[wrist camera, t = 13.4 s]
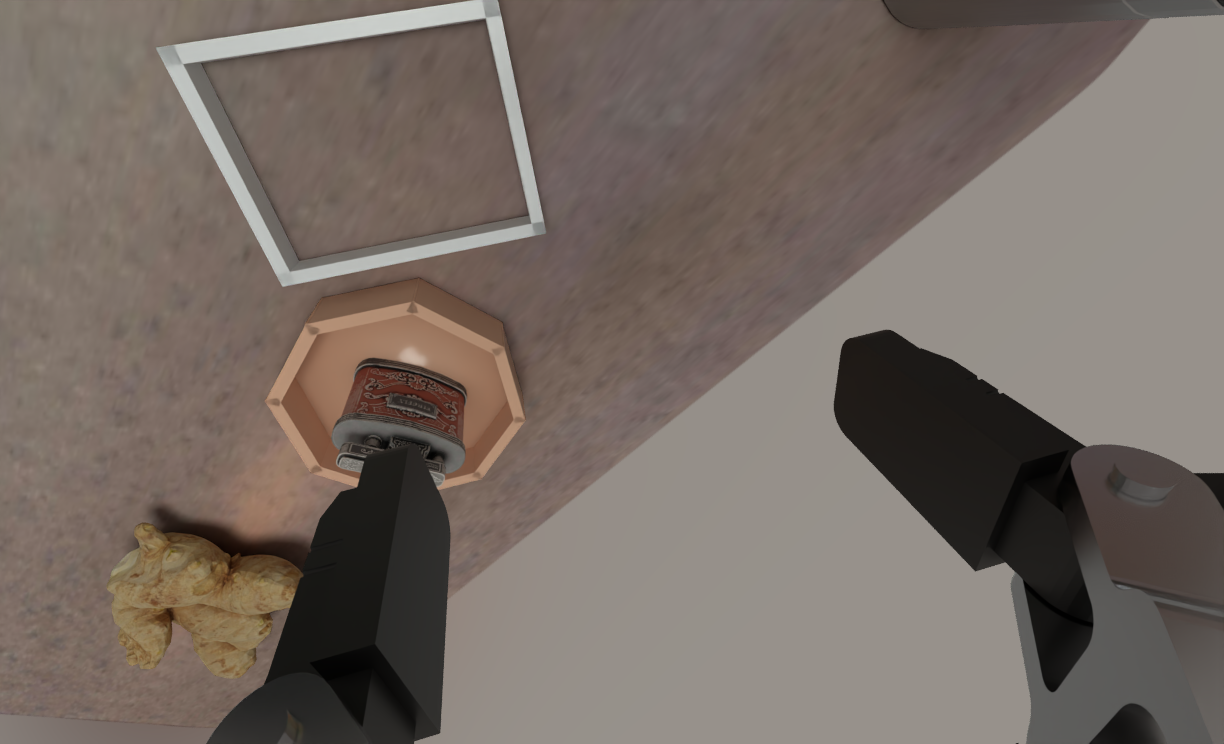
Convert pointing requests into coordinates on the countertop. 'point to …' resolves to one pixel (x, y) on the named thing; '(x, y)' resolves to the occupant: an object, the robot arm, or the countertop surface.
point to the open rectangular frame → (206, 104)
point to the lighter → (402, 416)
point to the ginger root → (197, 599)
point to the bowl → (407, 332)
